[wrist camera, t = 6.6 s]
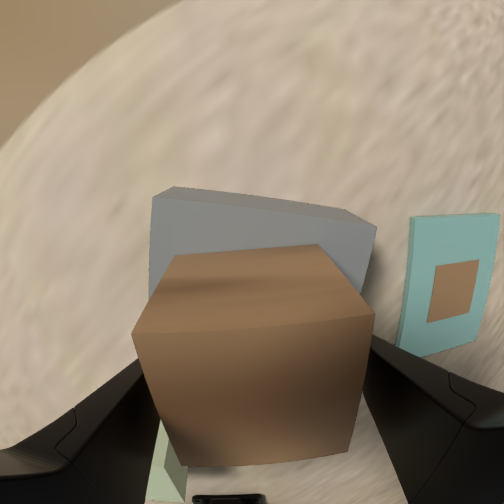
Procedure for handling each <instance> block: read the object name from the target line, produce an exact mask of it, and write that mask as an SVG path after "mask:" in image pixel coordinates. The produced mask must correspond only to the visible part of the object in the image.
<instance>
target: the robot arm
mask: <svg viewBox="0 0 504 504" xmlns="http://www.w3.org/2000/svg"><path fill="white" fill-rule="evenodd" d="M362 391H363V395H364V398H365V400H366V403H367V405H368V408H369V410H370V412H371V414H372V417H373V419H374V421H375V424H376V426H377V428H378V431H379V433H380V435H381V438H382V440H383V442H384V445H385V447H386V449H387V452H388V454H389V457H390V459H391V461H392V464H393V466H394V469H395V471H396V474H397V476H398V479H399V481H400V484H401V486H402V489H403V491H404V494H405V496H406V499H407V501H408V504H504V393H502V392H500V391H497V390H494V389H491V388H488V387H485V386H482V385H480V384H477V383H474V382H472V381H469V380H467V379H465V378H463V377H460V376H458V375H456V374H454V373H452V372H449V373H448V371H447V370H445V369H443V368H441V367H439V366H437V365H435V364H433V363H430V362H428V361H426V360H424V359H422V358H420V357H418V356H416V355H414V354H412V353H410V352H407V351H405V350H403V349H401V348H399V347H397V346H395V345H393V344H391V343H389V342H387V341H385V340H383V339H381V338H379V337H377V336H375V335H372V338H371V345H370V351H369V357H368V363H367V368H366V374H365V379H364V384H363V389H362ZM160 420H161V419H160V416H159V414H158V411H157V409H156V406H155V403H154V401H153V398H152V395H151V393H150V390H149V387H148V384H147V382H146V379H145V376H144V373H143V370H142V367H141V364H140V361H139V358H138V359H136V360H135V361H134V362H132V363H131V364H130V365H129V366H127V367H126V368H125V369H123V370H122V371H121V372H119V373H118V374H117V375H115V376H114V377H113V378H112V379H110V380H109V381H108V382H106V383H105V384H104V385H102V386H101V387H100V388H98V389H97V390H96V391H94V392H93V393H92V394H90V395H89V396H88V397H86V398H85V399H84V400H82V401H81V402H80V403H79V404H77V405H76V406H75V407H74V408H72V409H70V410H69V411H68V412H66V413H65V414H64V415H62V416H61V417H59V418H58V419H57V420H55V421H54V422H52V423H51V424H49V425H48V426H46V427H44V428H43V429H41V430H40V431H38V432H36V433H35V434H33V435H31V436H29V437H28V438H26V439H24V440H23V441H21V442H19V443H18V444H16V445H14V446H12V447H10V448H7V449H2V450H0V504H144V503H145V497H146V492H147V486H148V481H149V475H150V470H151V465H152V460H153V455H154V450H155V445H156V440H157V435H158V430H159V425H160ZM192 502H193V503H194V504H262V497H261V495H243V496H193V497H192Z"/></svg>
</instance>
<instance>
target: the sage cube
mask: <svg viewBox="0 0 504 504" xmlns="http://www.w3.org/2000/svg"><path fill="white" fill-rule="evenodd" d="M187 474H188V466H181V464H180V462H179V460H178V458H177V456H176V454H175V451H174V449H173V447H172V445H171V442H170V440H169V438H168V436H167V433H166V431H165V428H164V426H163V424H162V421H161V420H160V425H159V430H158V435H157V440H156V445H155V450H154V455H153V460H152V465H151V470H150V475H149V481H148V486H147V492H146V497H145V499H148V500H157V501H167V502H181V503H185V493H186V483H187Z"/></svg>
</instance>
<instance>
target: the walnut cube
mask: <svg viewBox="0 0 504 504" xmlns="http://www.w3.org/2000/svg"><path fill="white" fill-rule="evenodd" d="M374 316H375V313H374V312H373V310H372V309H371V308H370V307H369V305H368V304H367V303H366V302H365V300H364V299H363V298H362V297H361V295H360V294H359V293H358V292H357V290H356V289H355V288H354V287H353V286H352V284H351V283H350V282H349V281H348V279H347V278H346V277H345V276H344V275H343V273H342V272H341V271H340V270H339V269H338V267H337V266H336V265H335V264H334V263H333V261H332V260H331V259H330V258H329V257H328V256H327V254H326V253H325V252H324V251H323V250H322V248H321V247H320V246H319V245H318V244H311V245H298V246H286V247H273V248H261V249H248V250H236V251H224V252H211V253H199V254H187V255H175V256H174V257H173V259H172V261H171V262H170V264H169V266H168V268H167V269H166V271H165V273H164V275H163V276H162V278H161V280H160V282H159V283H158V285H157V287H156V289H155V290H154V292H153V294H152V296H151V298H150V299H149V301H148V303H147V305H146V307H145V309H144V310H143V312H142V314H141V316H140V318H139V320H138V321H137V323H136V325H135V327H134V329H133V331H132V333H131V335H132V339H133V342H134V345H135V348H136V352H137V355H138V358H139V361H140V364H141V367H142V370H143V373H144V376H145V379H146V382H147V384H148V387H149V390H150V393H151V395H152V398H153V401H154V403H155V406H156V409H157V411H158V414H159V416H160V419H161V421H162V424H163V426H164V428H165V431H166V433H167V436H168V438H169V440H170V442H171V445H172V447H173V449H174V451H175V454H176V456H177V458H178V460H179V462H180V464H181V466H196V467H221V466H247V465H261V464H272V463H282V462H290V461H298V460H305V459H311V458H317V457H323V456H328V455H334V454H339V453H343V452H348V448H349V444H350V441H351V437H352V433H353V429H354V425H355V421H356V417H357V412H358V408H359V403H360V399H361V394H362V389H363V384H364V379H365V374H366V368H367V363H368V357H369V351H370V345H371V338H372V331H373V324H374Z"/></svg>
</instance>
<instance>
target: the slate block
mask: <svg viewBox="0 0 504 504" xmlns="http://www.w3.org/2000/svg"><path fill="white" fill-rule="evenodd" d="M376 230H377V227H376V226H374V225H372V224H371V223H369V222H367V221H365V220H363V219H362V218H360V217H358V216H356V215H354V214H352V213H351V212H349V211H347V210H345V209H339V208H333V207H327V206H321V205H315V204H309V203H302V202H296V201H289V200H282V199H275V198H268V197H261V196H254V195H246V194H238V193H230V192H222V191H213V190H204V189H195V188H185V187H175V186H173V187H171V188H169V189H167V190H165V191H164V192H162V193H160V194H158V195H156V196H154V197H153V199H152V212H151V229H150V251H149V299H150V298H151V296H152V294H153V292H154V290H155V289H156V287H157V285H158V283H159V282H160V280H161V278H162V276H163V275H164V273H165V271H166V269H167V268H168V266H169V264H170V262H171V261H172V259H173V257H174V256H175V255H187V254H199V253H211V252H224V251H236V250H248V249H261V248H273V247H286V246H298V245H311V244H318V245H319V246H320V247H321V248H322V250H323V251H324V252H325V253H326V254H327V256H328V257H329V258H330V259H331V260H332V261H333V263H334V264H335V265H336V266H337V267H338V269H339V270H340V271H341V272H342V273H343V275H344V276H345V277H346V278H347V279H348V281H349V282H350V283H351V284H352V286H353V287H354V288H355V289H356V290H357V292H358V293H359V294H360V293H361V290H362V286H363V283H364V279H365V275H366V271H367V267H368V264H369V260H370V256H371V251H372V247H373V243H374V239H375V234H376Z"/></svg>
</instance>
